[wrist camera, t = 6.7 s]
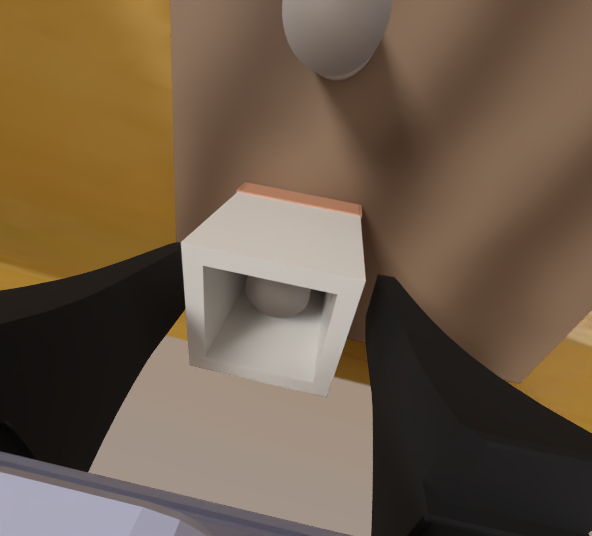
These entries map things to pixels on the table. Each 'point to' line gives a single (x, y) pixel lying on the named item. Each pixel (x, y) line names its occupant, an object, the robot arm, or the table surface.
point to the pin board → (407, 149)
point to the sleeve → (277, 267)
